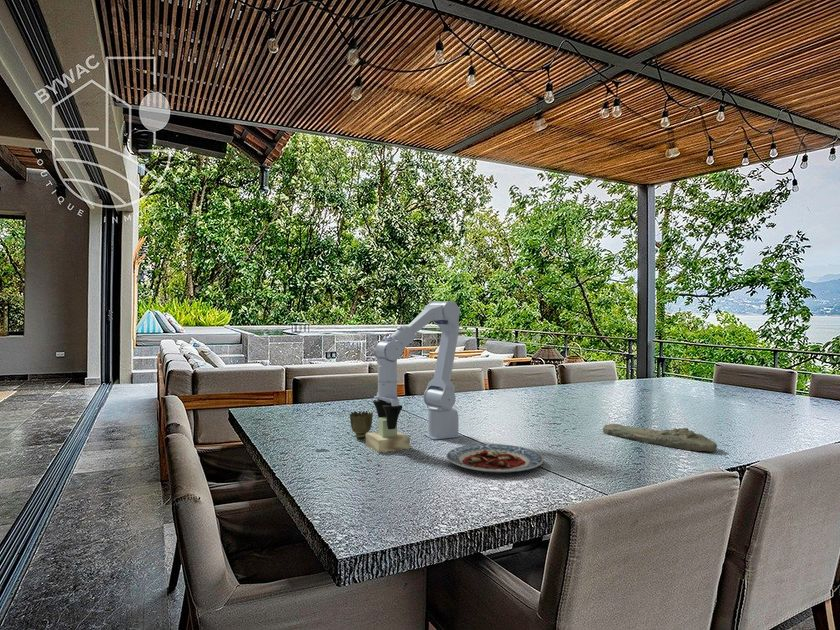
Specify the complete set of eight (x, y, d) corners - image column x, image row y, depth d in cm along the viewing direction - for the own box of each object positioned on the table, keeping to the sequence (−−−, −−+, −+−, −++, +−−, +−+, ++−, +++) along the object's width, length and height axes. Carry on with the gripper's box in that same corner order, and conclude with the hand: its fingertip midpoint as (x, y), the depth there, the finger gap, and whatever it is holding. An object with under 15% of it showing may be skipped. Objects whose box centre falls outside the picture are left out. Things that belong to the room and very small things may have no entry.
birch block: (395, 442, 165) (395, 429, 165) (409, 450, 156) (409, 436, 156) (365, 446, 161) (365, 433, 161) (378, 454, 152) (378, 440, 152)
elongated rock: (612, 434, 182) (597, 440, 175) (611, 418, 182) (596, 424, 175) (723, 448, 156) (710, 456, 149) (721, 430, 156) (708, 438, 149)
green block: (392, 432, 161) (392, 416, 161) (397, 436, 157) (397, 419, 157) (378, 434, 160) (378, 417, 160) (382, 437, 156) (382, 420, 155)
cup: (368, 441, 166) (368, 415, 165) (346, 440, 167) (346, 414, 167) (375, 435, 173) (375, 411, 173) (354, 434, 174) (354, 410, 174)
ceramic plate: (522, 486, 124) (522, 473, 124) (428, 468, 138) (428, 457, 138) (556, 459, 146) (556, 449, 146) (472, 447, 160) (472, 437, 160)
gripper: (367, 378, 164) (367, 422, 164) (382, 384, 150) (382, 432, 150) (388, 377, 166) (388, 420, 166) (405, 383, 153) (405, 430, 153)
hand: (387, 426), depth 159 cm, fingers open, 7 cm apart
